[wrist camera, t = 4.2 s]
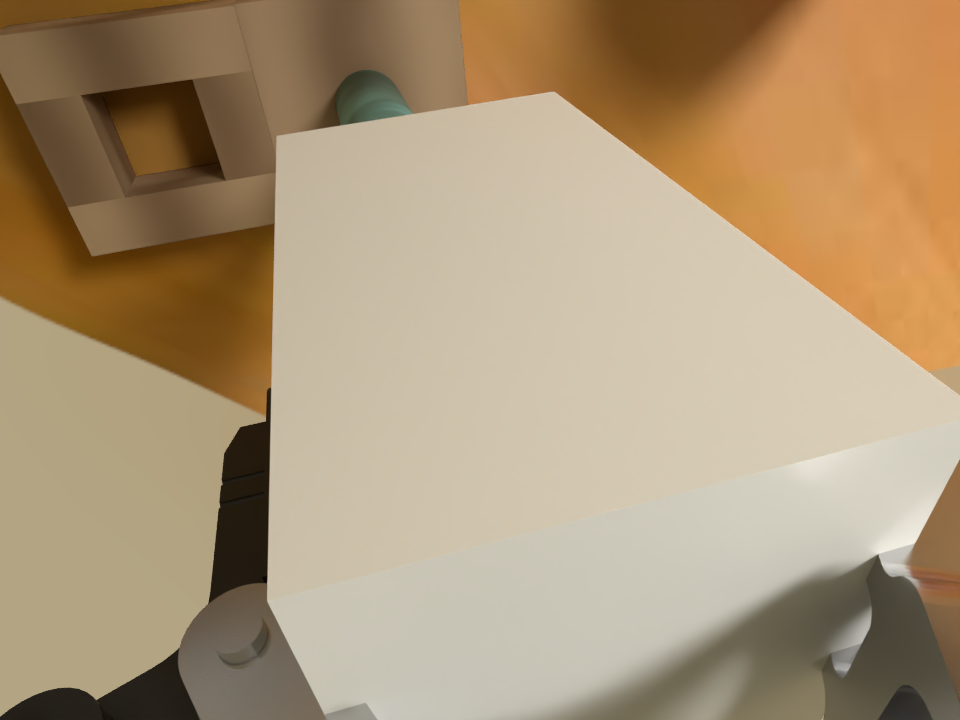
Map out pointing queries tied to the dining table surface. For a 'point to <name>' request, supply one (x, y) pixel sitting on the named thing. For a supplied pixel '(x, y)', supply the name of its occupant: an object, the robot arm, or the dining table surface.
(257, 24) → the board
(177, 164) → the dining table surface
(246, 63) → the board
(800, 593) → the block
